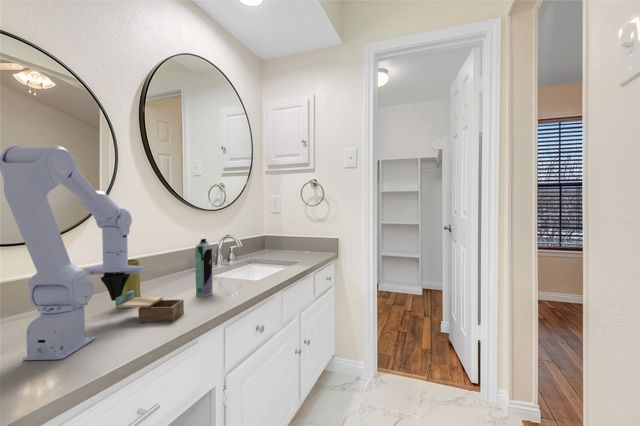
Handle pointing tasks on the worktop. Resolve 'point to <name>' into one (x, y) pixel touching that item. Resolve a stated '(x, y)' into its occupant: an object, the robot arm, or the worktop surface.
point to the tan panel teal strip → (135, 300)
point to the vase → (133, 280)
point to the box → (161, 311)
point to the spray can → (203, 269)
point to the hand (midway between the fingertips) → (116, 299)
